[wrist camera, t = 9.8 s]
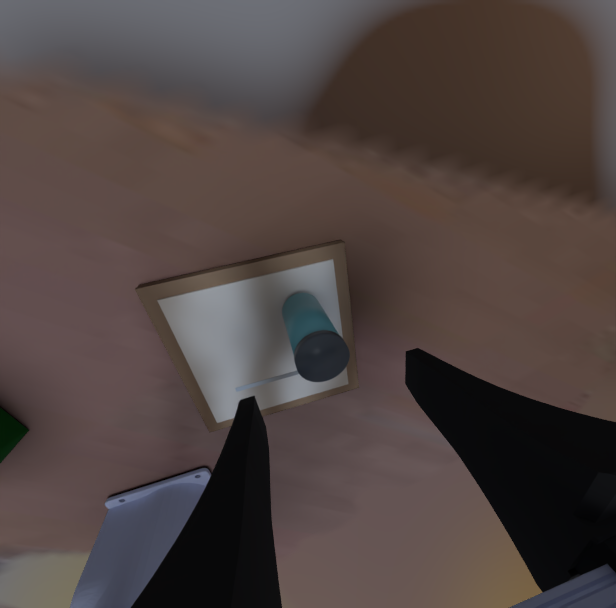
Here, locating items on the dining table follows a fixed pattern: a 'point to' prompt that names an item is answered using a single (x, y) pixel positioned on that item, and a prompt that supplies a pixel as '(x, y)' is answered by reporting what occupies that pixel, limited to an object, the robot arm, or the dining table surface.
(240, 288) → the writing board
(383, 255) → the dining table surface
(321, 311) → the marker
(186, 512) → the robot arm
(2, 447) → the milk carton
